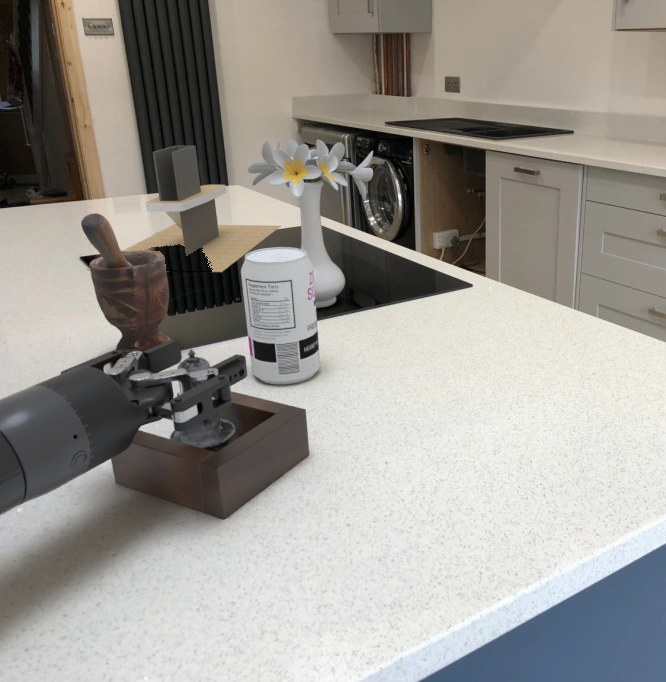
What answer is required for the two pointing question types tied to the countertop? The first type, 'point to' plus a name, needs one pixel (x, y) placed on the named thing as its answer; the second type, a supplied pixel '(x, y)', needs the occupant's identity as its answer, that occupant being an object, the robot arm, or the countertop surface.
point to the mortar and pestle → (128, 287)
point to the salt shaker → (212, 429)
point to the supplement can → (281, 314)
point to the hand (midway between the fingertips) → (209, 357)
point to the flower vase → (313, 200)
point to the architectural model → (195, 212)
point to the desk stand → (219, 458)
